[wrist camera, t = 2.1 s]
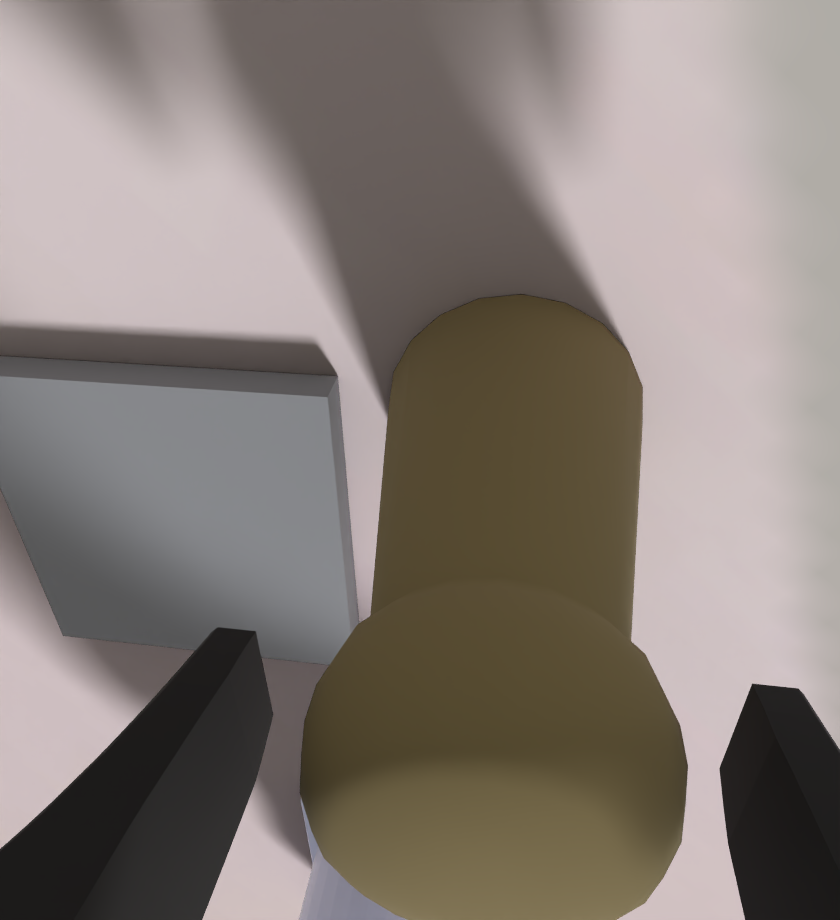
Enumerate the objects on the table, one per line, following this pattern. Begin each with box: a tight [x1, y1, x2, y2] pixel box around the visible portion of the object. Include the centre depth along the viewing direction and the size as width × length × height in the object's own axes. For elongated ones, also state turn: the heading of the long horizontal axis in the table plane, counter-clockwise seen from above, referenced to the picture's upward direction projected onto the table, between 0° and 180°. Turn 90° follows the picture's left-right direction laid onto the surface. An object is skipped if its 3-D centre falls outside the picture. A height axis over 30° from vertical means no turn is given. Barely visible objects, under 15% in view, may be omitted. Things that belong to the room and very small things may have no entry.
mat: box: [0, 356, 359, 665], centre depth 21 cm, size 10×10×1 cm
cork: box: [300, 294, 688, 920], centre depth 13 cm, size 6×6×11 cm
